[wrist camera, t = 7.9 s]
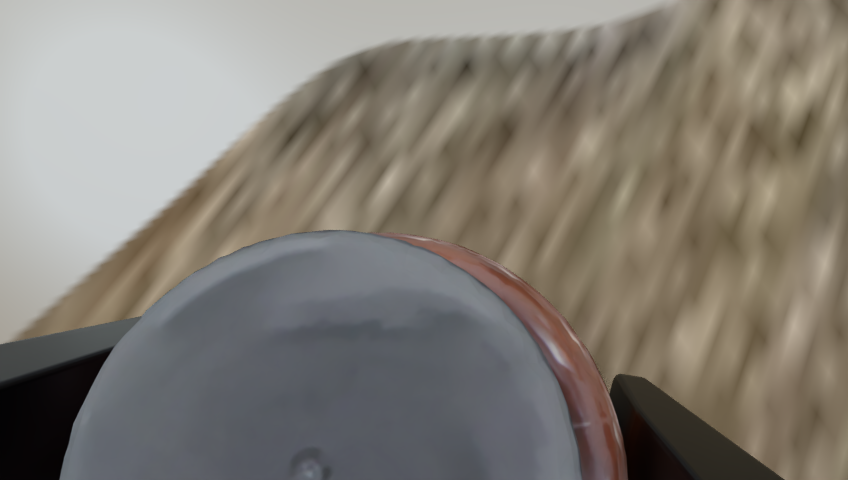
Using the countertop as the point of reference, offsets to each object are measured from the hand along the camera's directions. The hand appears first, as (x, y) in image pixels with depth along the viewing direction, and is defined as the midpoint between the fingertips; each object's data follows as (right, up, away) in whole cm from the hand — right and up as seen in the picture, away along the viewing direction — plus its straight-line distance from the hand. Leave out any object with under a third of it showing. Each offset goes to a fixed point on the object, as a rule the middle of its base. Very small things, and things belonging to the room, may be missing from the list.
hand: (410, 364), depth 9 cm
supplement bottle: (0, -4, +6) cm, 7 cm away
